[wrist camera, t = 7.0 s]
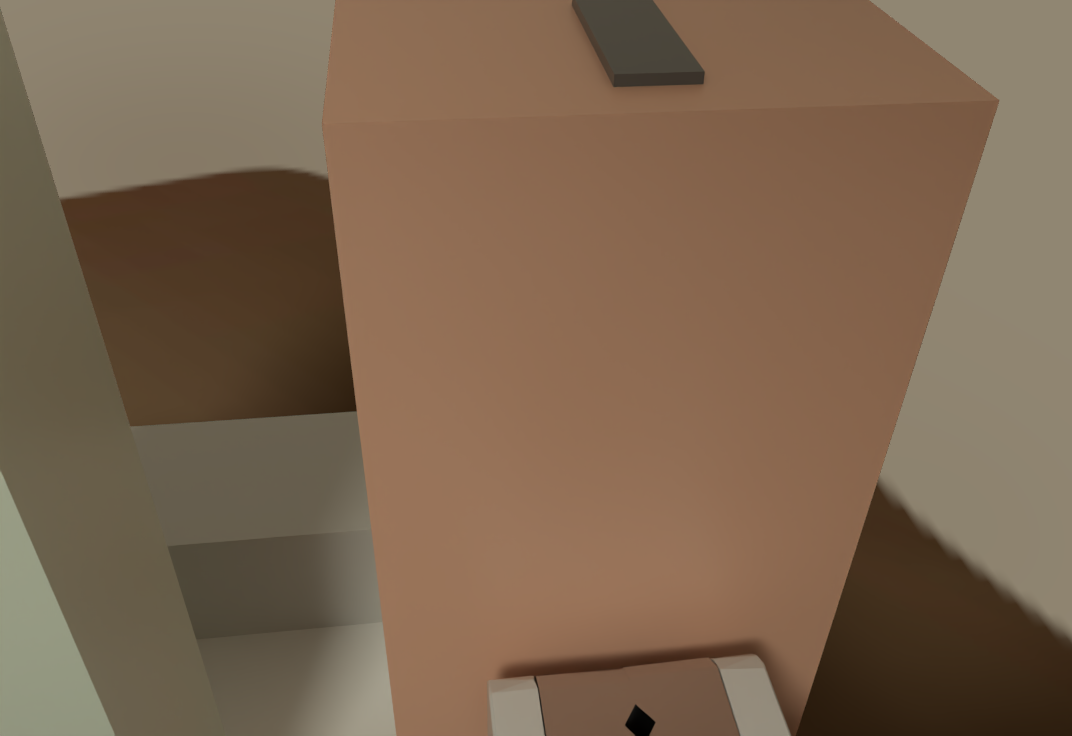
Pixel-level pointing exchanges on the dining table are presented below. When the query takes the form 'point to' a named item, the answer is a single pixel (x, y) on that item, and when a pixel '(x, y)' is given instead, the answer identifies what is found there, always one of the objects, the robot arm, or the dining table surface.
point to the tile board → (276, 569)
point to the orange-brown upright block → (630, 320)
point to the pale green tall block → (75, 493)
